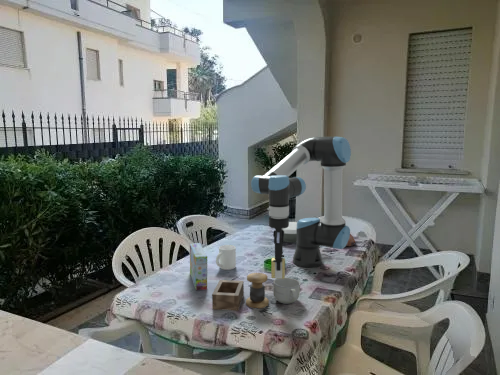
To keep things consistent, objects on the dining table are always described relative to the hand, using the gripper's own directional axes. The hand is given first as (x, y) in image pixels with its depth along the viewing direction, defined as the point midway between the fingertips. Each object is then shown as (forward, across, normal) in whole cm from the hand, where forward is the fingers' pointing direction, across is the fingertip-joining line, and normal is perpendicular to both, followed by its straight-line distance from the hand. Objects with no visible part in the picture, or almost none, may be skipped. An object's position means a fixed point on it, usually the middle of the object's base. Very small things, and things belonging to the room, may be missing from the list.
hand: (278, 275), depth 141 cm
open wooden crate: (+12, 0, -20) cm, 23 cm away
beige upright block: (0, 0, 0) cm, 1 cm away
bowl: (+13, -88, +3) cm, 89 cm away
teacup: (+12, -2, +3) cm, 13 cm away
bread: (+14, -86, +32) cm, 92 cm away
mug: (+12, -36, -29) cm, 48 cm away
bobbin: (+12, 0, -8) cm, 15 cm away
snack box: (+12, -19, -38) cm, 44 cm away
